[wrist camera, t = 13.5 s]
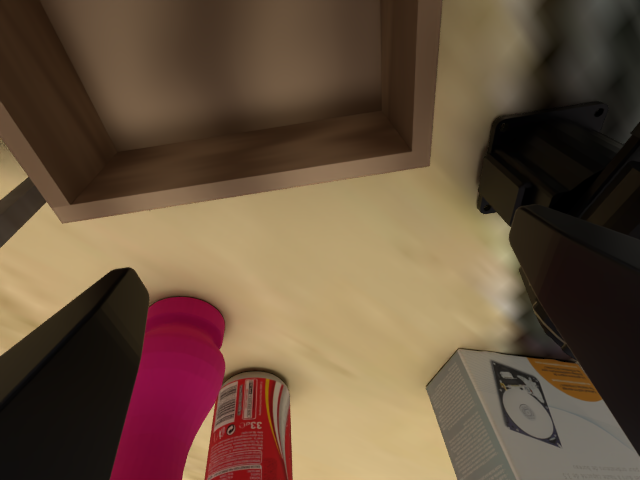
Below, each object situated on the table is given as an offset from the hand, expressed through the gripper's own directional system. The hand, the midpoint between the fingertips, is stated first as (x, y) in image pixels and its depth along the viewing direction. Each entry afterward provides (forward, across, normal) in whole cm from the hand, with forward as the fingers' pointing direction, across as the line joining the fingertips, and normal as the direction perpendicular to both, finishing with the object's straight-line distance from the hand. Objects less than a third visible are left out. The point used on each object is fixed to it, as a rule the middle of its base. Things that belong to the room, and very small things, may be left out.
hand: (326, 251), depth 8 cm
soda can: (+13, +9, +27) cm, 31 cm away
